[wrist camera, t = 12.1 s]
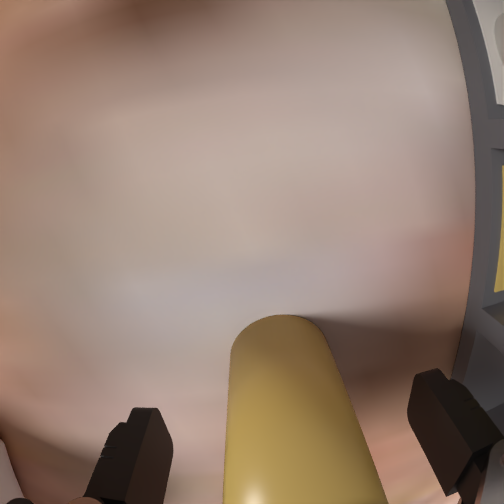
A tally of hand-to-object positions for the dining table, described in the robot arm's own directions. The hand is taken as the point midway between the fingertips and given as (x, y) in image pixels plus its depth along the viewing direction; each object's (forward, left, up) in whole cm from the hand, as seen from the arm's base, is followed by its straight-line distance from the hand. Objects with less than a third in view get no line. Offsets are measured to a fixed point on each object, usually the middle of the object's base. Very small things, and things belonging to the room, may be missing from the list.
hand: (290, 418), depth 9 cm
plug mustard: (0, 0, -3) cm, 3 cm away
